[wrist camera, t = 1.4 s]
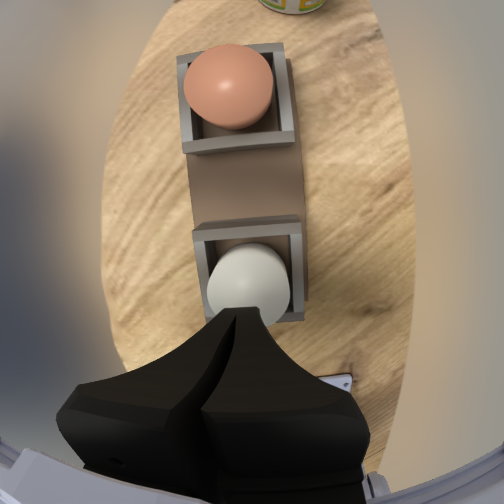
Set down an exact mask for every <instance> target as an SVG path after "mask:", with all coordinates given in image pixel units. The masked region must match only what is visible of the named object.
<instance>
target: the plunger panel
mask: <svg viewBox="0 0 504 504" xmlns="http://www.w3.org/2000/svg"><path fill="white" fill-rule="evenodd" d="M243 46H246V47H249V48H251V49H253V50H255V51H257V52H258V53H259V54H261V55H262V56H263V57H264V58H265V60H266V61H267V62H268V64H269V66H270V68H271V71H272V76H273V88H272V99H271V104H270V106H269V109H268V110H267V112H266V113H265V115H264V116H263V117H262V118H261V119H260V120H259V121H258V122H256V123H255V124H253V125H251V126H249V127H247V128H243V129H238V130H226V129H221V128H218V127H216V126H213V125H212V124H210V123H209V122H207V121H206V120H205V119H204V118H202V117H201V116H200V115H198V114H197V113H196V112H195V111H194V110H193V109H192V108H191V107H190V105H189V104H188V102H187V100H186V97H185V94H184V78H185V75H186V72H187V70H188V68H189V66H190V65H191V63H192V62H193V61H194V60H195V59H196V58H197V57H198V56H199V55H200V54H202V53H203V52H205V51H200V52H195V53H190V54H185V55H180V56H177V80H178V97H179V113H180V126H181V138H182V149H183V153H184V154H186V158H187V168H188V178H189V187H190V196H191V204H192V212H193V220H194V228H195V229H194V230H193V231H192V236H193V243H194V250H195V257H196V263H197V270H198V276H199V282H200V288H201V294H202V300H203V306H204V311H205V317H206V322H207V323H208V322H209V321H211V320H212V319H213V318H214V317H215V316H216V315H215V314H214V312H213V311H212V309H211V307H210V305H209V302H208V298H207V286H208V282H209V279H210V277H211V275H212V273H213V271H214V269H215V267H216V265H217V263H218V261H219V259H220V258H221V256H222V255H223V254H224V253H225V252H226V251H227V250H228V249H229V248H231V247H233V246H235V245H237V244H240V243H246V242H255V243H260V244H263V245H266V246H268V247H270V248H271V249H273V250H274V251H275V252H276V253H277V254H278V255H279V256H280V257H281V259H282V260H283V262H284V264H285V267H286V271H287V277H288V282H289V288H290V300H289V304H288V307H287V309H286V311H285V312H284V314H283V315H282V317H281V318H280V319H279V320H278V321H276V322H275V323H278V322H291V321H304V301H308V263H307V237H306V217H305V200H304V185H303V172H302V160H301V148H300V137H299V127H298V118H297V109H296V100H295V92H294V84H293V76H292V69H291V61H290V59H285V53H284V46H283V43H265V44H252V45H243Z"/></svg>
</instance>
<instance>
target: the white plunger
mask: <svg viewBox="0 0 504 504" xmlns="http://www.w3.org/2000/svg"><path fill="white" fill-rule="evenodd" d="M207 298H208V302H209V305H210V307H211V309H212V311H213V312H214V314H215V315H217V314H218V313H219V312H220V311H221V310H222V309H224V308H235V307H253V306H257V307H258V308H259V309H260V315H261V318H262V320H263V323H264V325H265V326H266V327H268V326H270V325H272V324H274V323H275V322H276V321H278V320H279V319H280V318H281V317H282V315H283V314H284V312H285V311H286V309H287V307H288V304H289V300H290V288H289V282H288V277H287V271H286V267H285V264H284V262H283V260H282V259H281V257H280V256H279V255H278V254H277V253H276V252H275V251H274V250H273V249H271V248H270V247H268V246H266V245H263V244H260V243H255V242H246V243H240V244H237V245H235V246H233V247H231V248H229V249H228V250H227V251H226V252H225V253H224V254H223V255H222V256H221V258H220V259H219V261H218V263H217V265H216V267H215V269H214V271H213V273H212V275H211V277H210V279H209V282H208V286H207Z"/></svg>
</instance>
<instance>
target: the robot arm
mask: <svg viewBox="0 0 504 504" xmlns="http://www.w3.org/2000/svg"><path fill="white" fill-rule="evenodd" d="M345 383H347V384H345ZM351 384H352V377H351V375H349V374H344V375H337V376H329V377H320V378H317V377H315V376H313V375H312V374H310V373H309V372H307V371H306V370H305V369H303V368H302V367H300V366H299V365H298V364H297V363H295V362H294V361H293V360H292V359H291V358H290V357H289V356H288V355H287V354H286V353H285V352H284V351H283V350H282V349H281V348H280V347H279V345H278V344H277V343H276V342H275V340H274V339H273V338H272V336H271V335H270V333H269V331H268V330H267V328H266V326H265V325H264V323H263V320H262V318H261V315H260V309H259V308H258V307H257V306H253V307H235V308H224V309H222V310H221V311H220V312H219V313H218V314H217V315H216V316H215V317H214V318H213V319H212V320H211V321H209V322H208V323H207V324H206V325H205V326H204V327H203V328H202V329H201V330H200V331H198V332H197V333H196V334H195V335H193V336H192V337H191V338H189V339H188V340H187V341H186V342H184V343H183V344H182V345H180V346H179V347H177V348H176V349H174V350H173V351H171V352H169V353H168V354H166V355H164V356H163V357H161V358H159V359H157V360H155V361H153V362H151V363H148V364H146V365H144V366H142V367H140V368H138V369H135V370H132V371H130V372H127V373H124V374H121V375H118V376H115V377H112V378H108V379H104V380H100V381H95V382H90V383H86V384H80V385H78V386H77V387H76V388H75V390H74V391H73V392H72V394H71V395H70V396H69V398H68V399H67V400H66V402H65V403H64V404H63V406H62V407H61V409H60V410H59V412H58V413H57V416H56V421H57V425H58V428H59V431H60V432H61V434H62V435H63V437H64V438H65V440H66V441H67V442H68V444H69V445H70V446H71V447H72V449H73V450H74V451H75V452H76V454H77V455H78V456H79V457H80V459H81V460H82V461H83V462H84V463H85V465H84V467H83V468H80V467H77V466H75V465H72V464H70V463H67V462H65V461H63V460H60V459H58V458H56V457H53V456H51V455H49V454H47V453H45V452H42V451H38V450H35V449H32V448H25V449H24V450H23V451H22V450H20V449H18V448H17V447H15V446H13V445H12V444H10V443H8V442H7V441H5V440H4V439H2V438H1V437H0V501H1V502H2V503H3V504H504V442H503V444H502V445H501V446H499V447H498V448H496V449H494V450H493V451H491V452H489V453H487V454H486V455H484V456H482V457H480V458H478V459H477V460H474V461H472V462H470V463H468V464H466V465H464V466H462V467H460V468H458V469H456V470H454V471H451V472H449V473H447V474H445V475H442V476H440V477H438V478H435V479H432V480H430V481H427V482H424V483H422V484H419V485H416V486H413V487H410V488H407V489H404V490H401V491H398V492H395V493H391V492H390V489H389V486H388V484H387V481H386V479H385V477H384V476H382V475H380V474H377V472H375V471H374V472H371V473H368V474H367V478H366V474H365V470H364V466H363V463H362V462H363V460H364V457H365V454H366V452H367V449H368V446H369V443H370V432H369V428H368V425H367V422H366V420H365V418H364V416H363V414H362V412H361V410H360V409H359V407H358V405H357V403H356V402H355V400H354V399H353V397H352V395H351V394H350V390H351Z"/></svg>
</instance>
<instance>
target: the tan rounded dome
mask: <svg viewBox="0 0 504 504" xmlns="http://www.w3.org/2000/svg"><path fill="white" fill-rule="evenodd" d="M272 88H273V76H272V71H271V68H270V66H269V64H268V62H267V61H266V60H265V58H264V57H263V56H262V55H261V54H259V53H258V52H257V51H255V50H253V49H251V48H249V47H246V46H243V45H237V44H225V45H219V46H216V47H213V48H211V49H208V50H206V51H205V52H203V53H202V54H200V55H199V56H198V57H197V58H196V59H195V60H194V61H193V62H192V63H191V65H190V66H189V68H188V70H187V72H186V75H185V78H184V94H185V97H186V100H187V102H188V104H189V105H190V107H191V108H192V109H193V110H194V111H195V112H196V113H197V114H198V115H200V116H201V117H202V118H204V119H205V120H206V121H207V122H209V123H210V124H212V125H213V126H216V127H218V128H221V129H226V130H238V129H243V128H247V127H249V126H251V125H253V124H255V123H256V122H258V121H259V120H260V119H261V118H262V117H263V116H264V115H265V113H266V112H267V110H268V109H269V106H270V104H271V99H272Z"/></svg>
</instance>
